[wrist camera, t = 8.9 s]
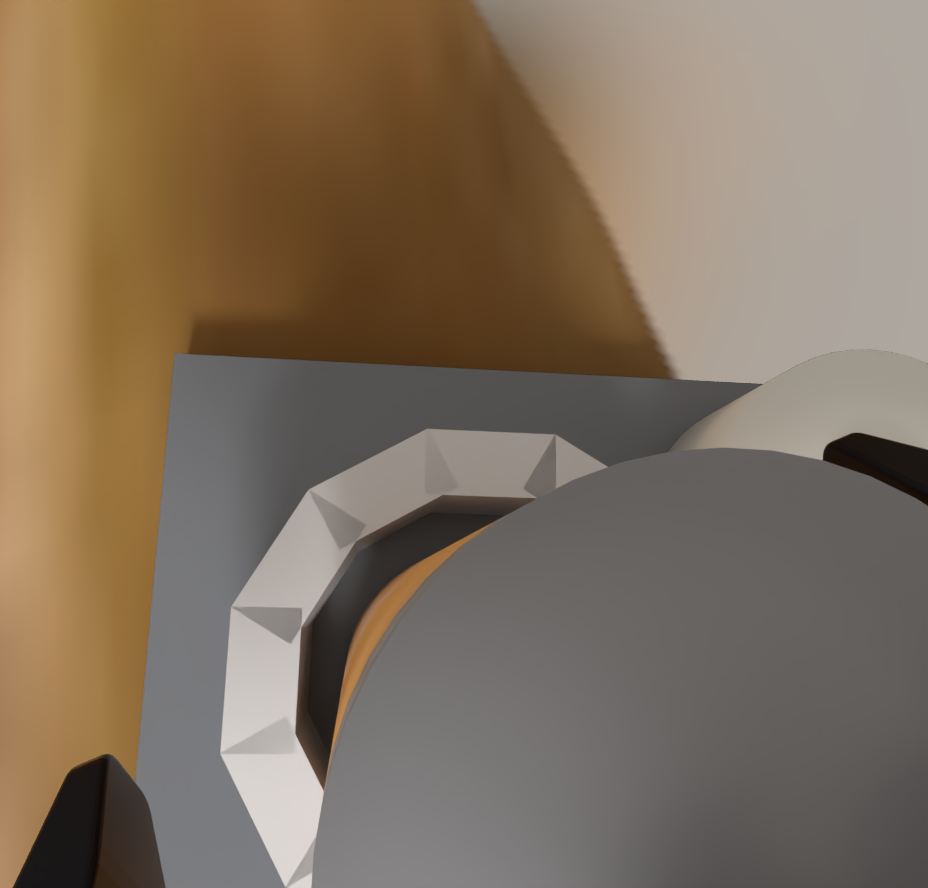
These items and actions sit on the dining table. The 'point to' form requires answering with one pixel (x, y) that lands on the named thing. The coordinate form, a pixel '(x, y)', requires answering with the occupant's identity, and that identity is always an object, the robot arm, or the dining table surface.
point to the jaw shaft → (646, 690)
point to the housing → (381, 545)
